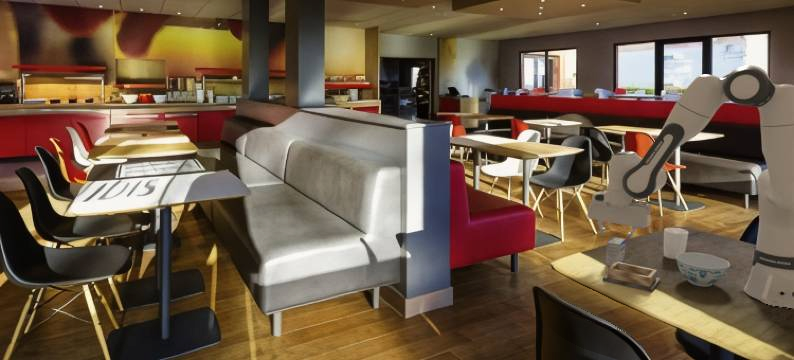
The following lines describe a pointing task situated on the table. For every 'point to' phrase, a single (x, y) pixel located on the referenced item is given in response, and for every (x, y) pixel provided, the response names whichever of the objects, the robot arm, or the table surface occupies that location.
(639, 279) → the locating plate
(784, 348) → the table surface
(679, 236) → the white cup
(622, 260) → the medicine box
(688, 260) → the chinaware
